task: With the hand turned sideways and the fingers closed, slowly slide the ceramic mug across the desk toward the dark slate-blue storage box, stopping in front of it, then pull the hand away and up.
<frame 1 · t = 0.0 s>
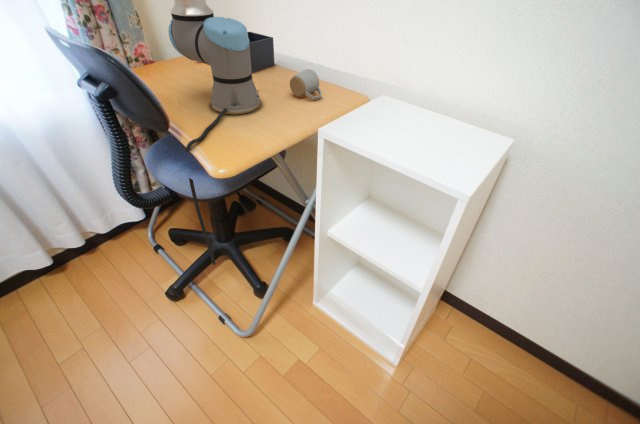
storage box: (252, 65, 129), on the table
ceramic mug: (307, 95, 108), on the table
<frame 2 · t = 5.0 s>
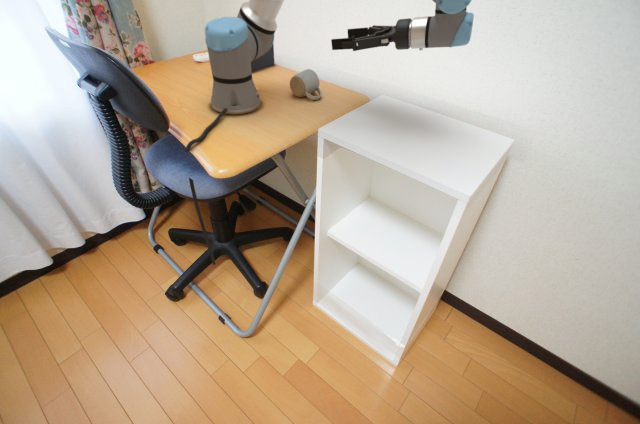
hand: (340, 39, 94), 19 cm above the table, tool horizontal, fingers open, 13 cm apart
nothing on the table moved.
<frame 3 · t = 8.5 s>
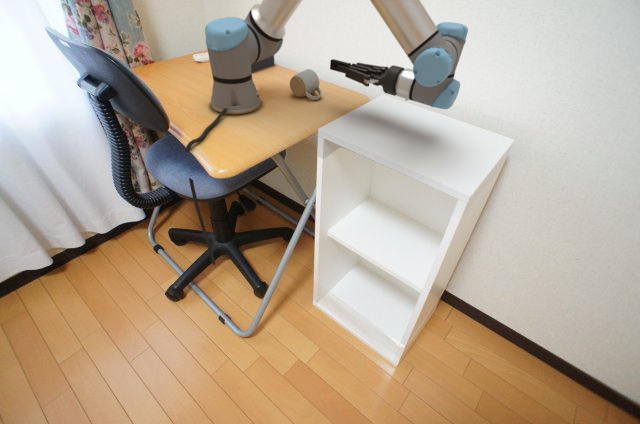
hand: (331, 64, 96), 12 cm above the table, tool horizontal, fingers closed
nothing on the table moved.
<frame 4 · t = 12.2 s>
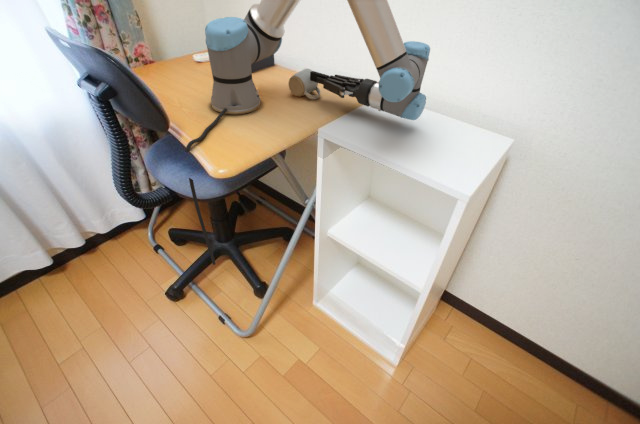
hand: (311, 75, 103), 7 cm above the table, tool horizontal, fingers closed
ceramic mug: (306, 95, 108), on the table, touching gripper
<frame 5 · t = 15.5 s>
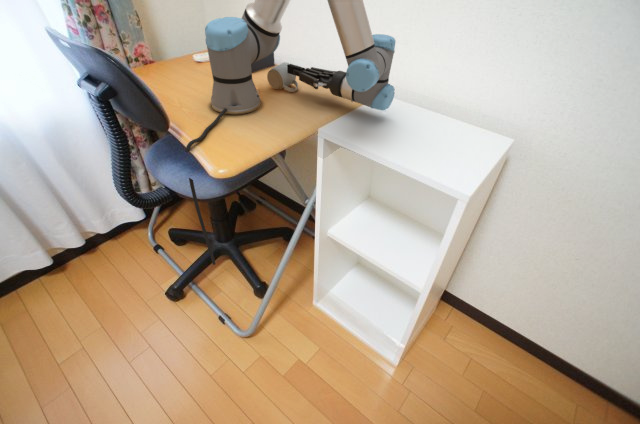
hand: (288, 68, 107), 7 cm above the table, tool horizontal, fingers closed
ceramic mug: (284, 88, 112), on the table, touching gripper
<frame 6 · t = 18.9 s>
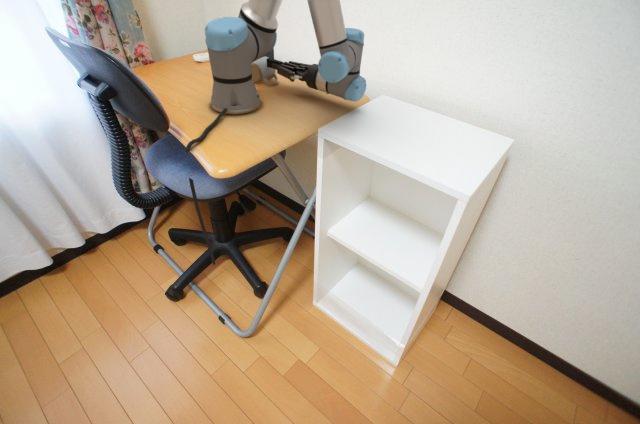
hand: (268, 62, 111), 7 cm above the table, tool horizontal, fingers closed
ceramic mug: (265, 81, 116), on the table, touching gripper
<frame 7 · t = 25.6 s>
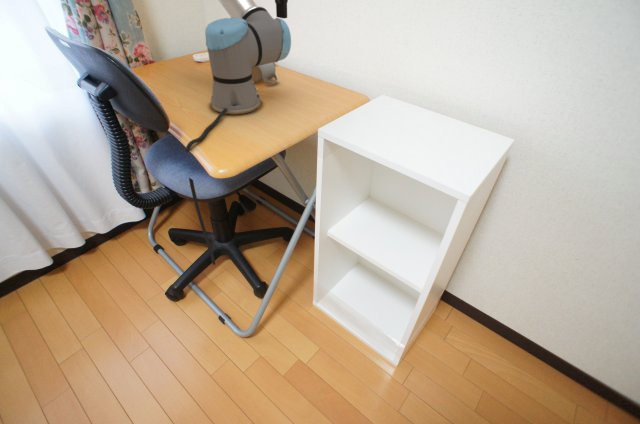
hand: (281, 17, 86), 24 cm above the table, tool pointing down, fingers closed
ceramic mug: (265, 81, 116), on the table
at the end: ceramic mug 19.6 cm from the storage box (horizontally); ceramic mug moved 20.2 cm from its start; ceramic mug tilted 2° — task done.
